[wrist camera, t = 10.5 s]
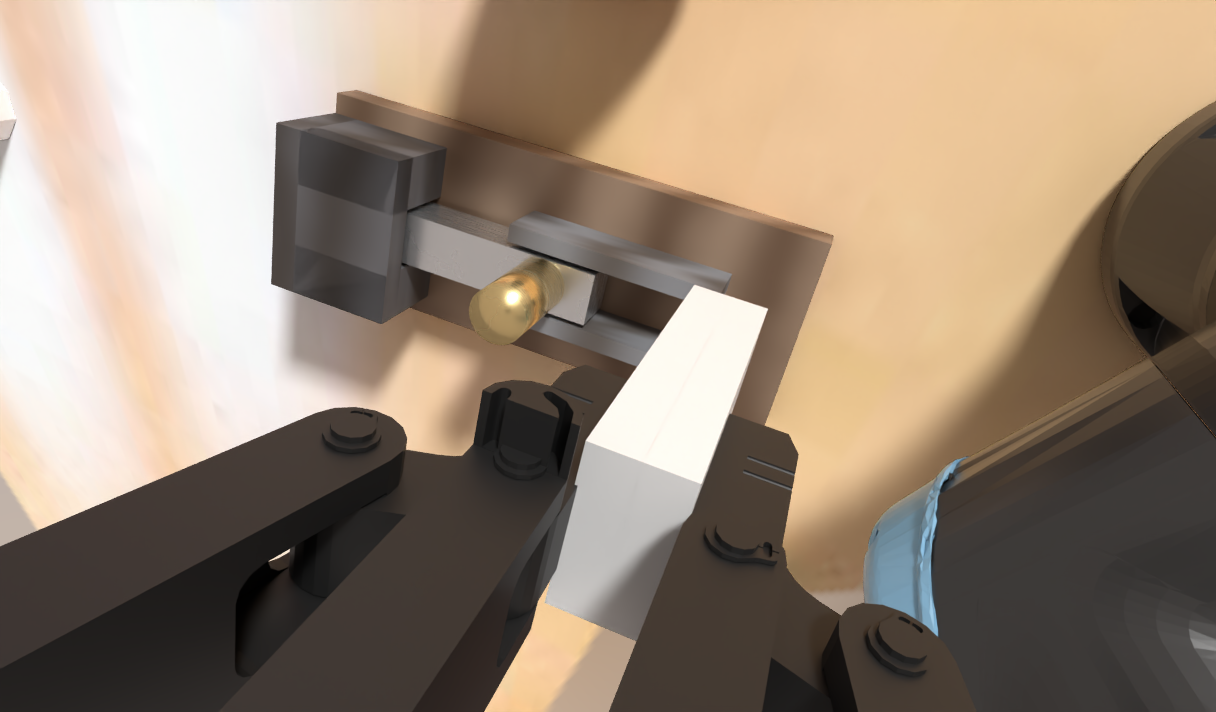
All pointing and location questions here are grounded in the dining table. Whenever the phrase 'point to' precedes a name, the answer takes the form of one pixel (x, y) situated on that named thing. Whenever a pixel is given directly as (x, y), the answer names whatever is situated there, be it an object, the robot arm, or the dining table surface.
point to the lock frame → (527, 235)
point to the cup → (6, 114)
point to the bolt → (499, 272)
